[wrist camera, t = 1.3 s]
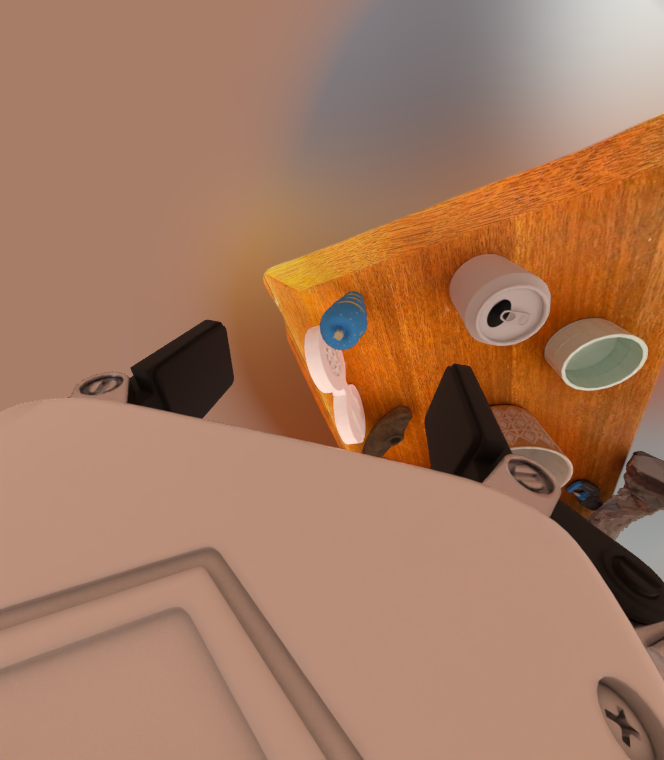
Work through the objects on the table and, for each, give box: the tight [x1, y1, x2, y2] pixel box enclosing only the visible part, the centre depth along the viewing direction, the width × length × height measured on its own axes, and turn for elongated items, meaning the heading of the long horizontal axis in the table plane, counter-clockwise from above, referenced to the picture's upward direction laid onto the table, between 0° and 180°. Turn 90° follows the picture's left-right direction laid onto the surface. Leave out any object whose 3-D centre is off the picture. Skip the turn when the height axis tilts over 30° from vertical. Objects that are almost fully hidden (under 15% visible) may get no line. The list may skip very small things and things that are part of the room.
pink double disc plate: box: [304, 325, 366, 444], centre depth 42 cm, size 22×2×10 cm, turn 21°
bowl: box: [544, 318, 648, 391], centre depth 34 cm, size 8×8×5 cm
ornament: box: [320, 292, 367, 350], centre depth 32 cm, size 5×5×15 cm
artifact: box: [362, 406, 412, 458], centre depth 51 cm, size 9×5×20 cm
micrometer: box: [565, 480, 604, 511], centre depth 52 cm, size 12×2×5 cm
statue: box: [587, 451, 664, 540], centre depth 50 cm, size 8×7×30 cm
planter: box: [490, 405, 573, 487], centre depth 42 cm, size 13×13×10 cm
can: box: [449, 254, 551, 346], centre depth 29 cm, size 8×8×12 cm
